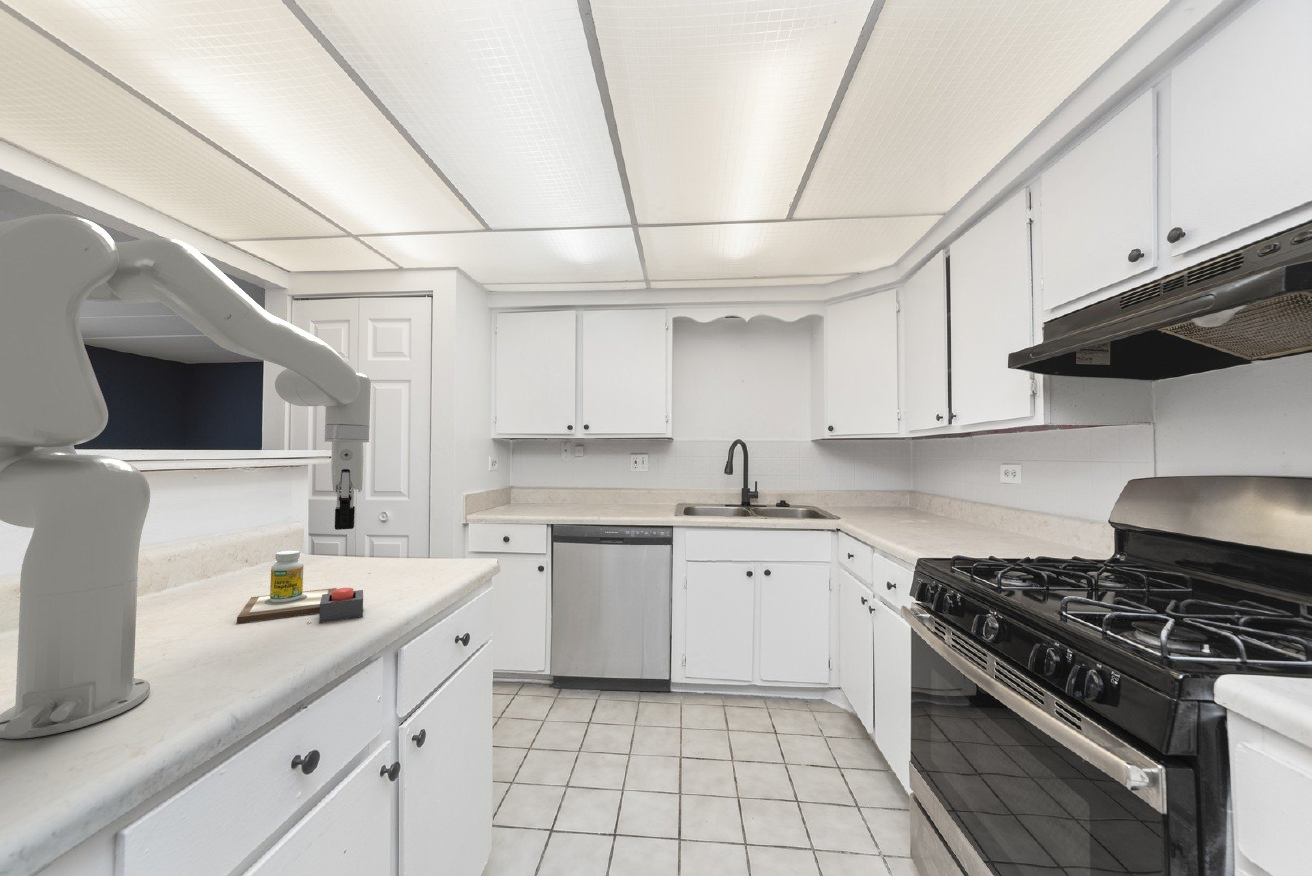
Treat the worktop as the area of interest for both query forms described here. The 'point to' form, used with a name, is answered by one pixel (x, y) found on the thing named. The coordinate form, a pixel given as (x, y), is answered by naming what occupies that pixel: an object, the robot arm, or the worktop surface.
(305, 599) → the brown bordered square board
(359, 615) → the button housing
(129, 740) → the worktop surface
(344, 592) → the button
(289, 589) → the supplement bottle
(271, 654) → the worktop surface
